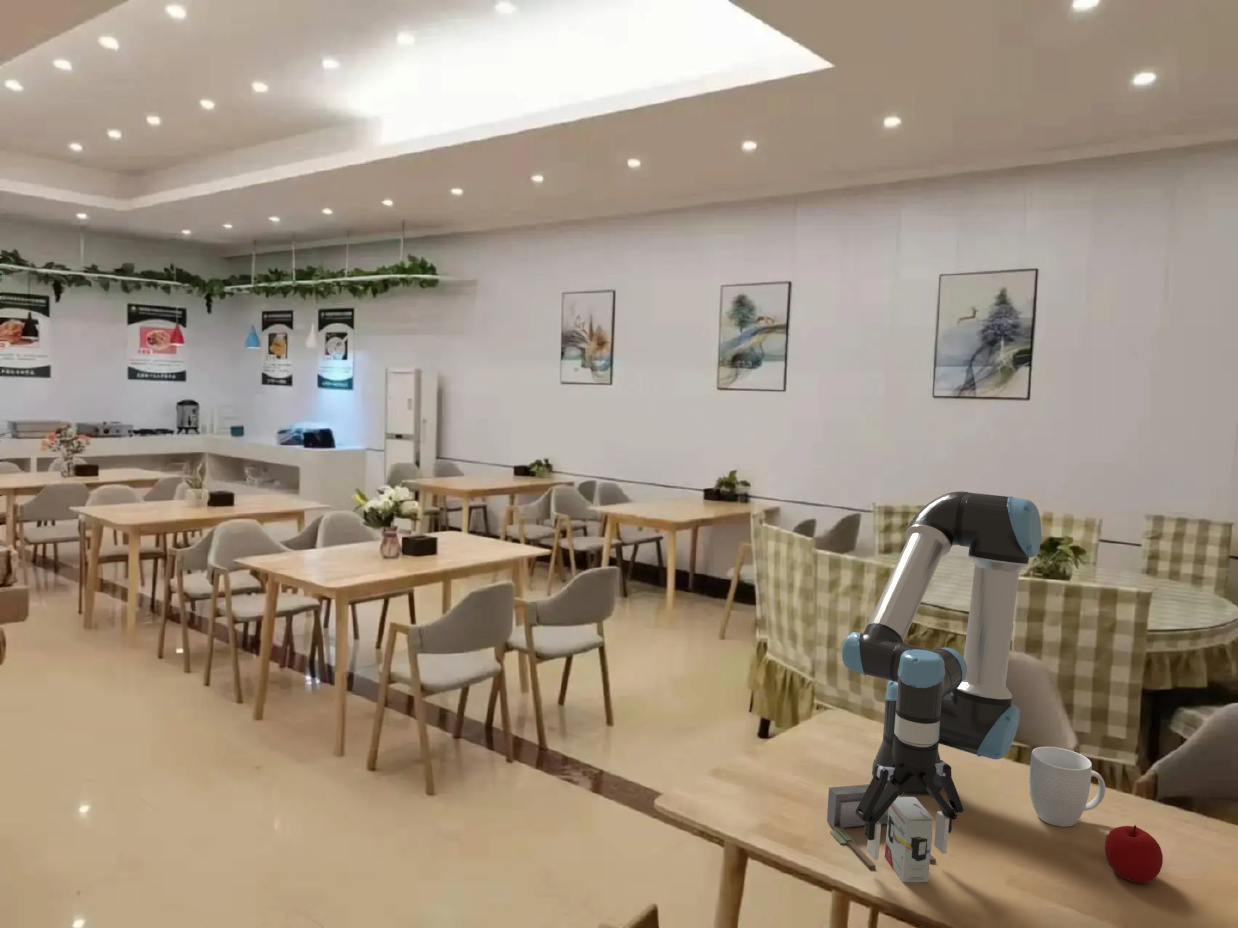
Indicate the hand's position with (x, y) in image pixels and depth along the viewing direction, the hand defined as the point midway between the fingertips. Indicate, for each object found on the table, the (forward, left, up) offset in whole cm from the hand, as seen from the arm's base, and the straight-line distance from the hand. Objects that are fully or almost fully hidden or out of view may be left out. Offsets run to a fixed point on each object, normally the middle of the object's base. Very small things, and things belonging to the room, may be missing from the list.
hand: (906, 852), depth 157 cm
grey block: (0, -17, -3) cm, 17 cm away
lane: (0, -8, -3) cm, 9 cm away
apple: (-40, +9, -3) cm, 41 cm away
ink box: (0, 0, -3) cm, 3 cm away
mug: (-42, -11, -3) cm, 44 cm away
